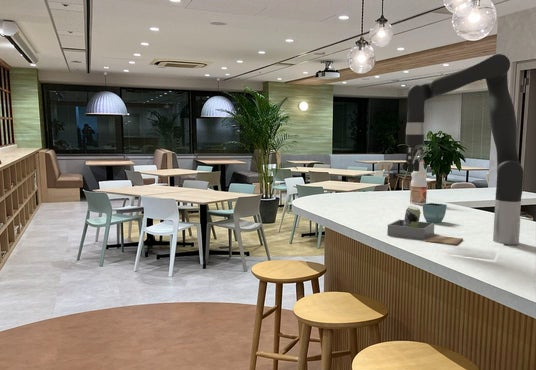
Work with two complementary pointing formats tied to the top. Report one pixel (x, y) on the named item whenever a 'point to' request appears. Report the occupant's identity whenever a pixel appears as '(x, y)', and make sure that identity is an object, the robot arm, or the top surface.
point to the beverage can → (412, 217)
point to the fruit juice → (418, 186)
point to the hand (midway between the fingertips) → (413, 171)
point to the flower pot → (434, 212)
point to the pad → (444, 240)
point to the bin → (411, 230)
